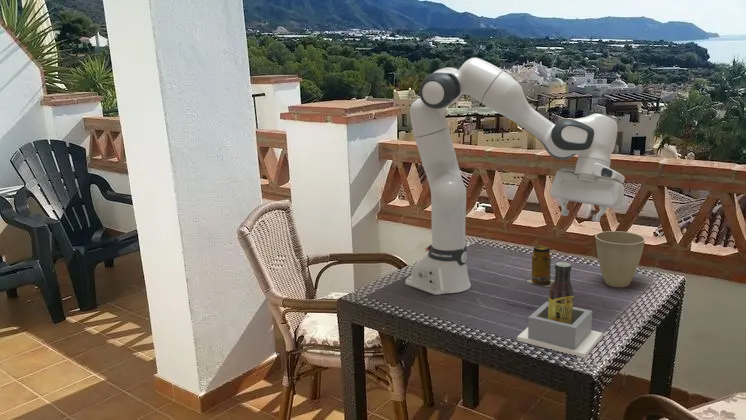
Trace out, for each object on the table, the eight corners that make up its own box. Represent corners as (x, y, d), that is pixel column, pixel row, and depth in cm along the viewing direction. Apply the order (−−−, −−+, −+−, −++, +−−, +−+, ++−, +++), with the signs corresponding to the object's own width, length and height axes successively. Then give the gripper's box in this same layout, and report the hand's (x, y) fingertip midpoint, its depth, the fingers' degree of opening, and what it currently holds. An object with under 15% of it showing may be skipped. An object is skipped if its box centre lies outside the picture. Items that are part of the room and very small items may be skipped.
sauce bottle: (555, 341, 153) (557, 269, 148) (542, 331, 159) (543, 262, 154) (577, 337, 155) (579, 266, 150) (563, 327, 161) (565, 258, 156)
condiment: (538, 276, 203) (539, 243, 200) (560, 282, 196) (561, 248, 193) (525, 282, 198) (526, 248, 195) (547, 288, 192) (548, 253, 189)
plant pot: (635, 295, 183) (638, 246, 179) (587, 286, 191) (589, 239, 188) (647, 280, 194) (650, 234, 190) (601, 272, 203) (603, 228, 199)
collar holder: (517, 340, 157) (517, 315, 155) (538, 321, 168) (538, 298, 166) (584, 358, 146) (585, 331, 144) (602, 336, 157) (603, 312, 155)
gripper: (553, 164, 171) (541, 210, 171) (622, 173, 157) (610, 223, 157) (562, 169, 176) (551, 214, 176) (630, 178, 162) (618, 226, 161)
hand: (579, 218), depth 166 cm, fingers open, 8 cm apart
